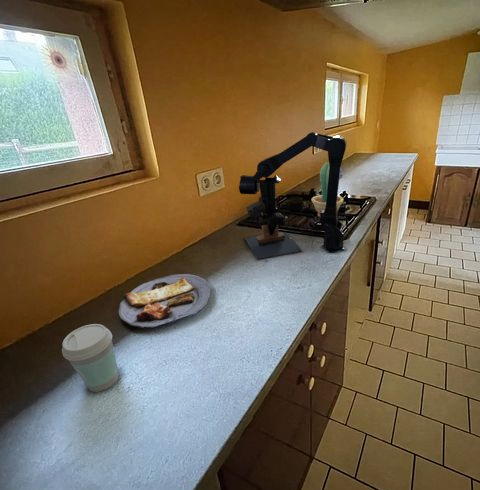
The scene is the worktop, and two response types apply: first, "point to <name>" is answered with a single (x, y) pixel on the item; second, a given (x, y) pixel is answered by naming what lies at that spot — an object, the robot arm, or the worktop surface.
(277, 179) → the robot arm
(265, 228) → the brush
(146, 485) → the worktop surface
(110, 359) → the coffee cup
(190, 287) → the food plate
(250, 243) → the mat
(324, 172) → the potted cactus
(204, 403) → the worktop surface
